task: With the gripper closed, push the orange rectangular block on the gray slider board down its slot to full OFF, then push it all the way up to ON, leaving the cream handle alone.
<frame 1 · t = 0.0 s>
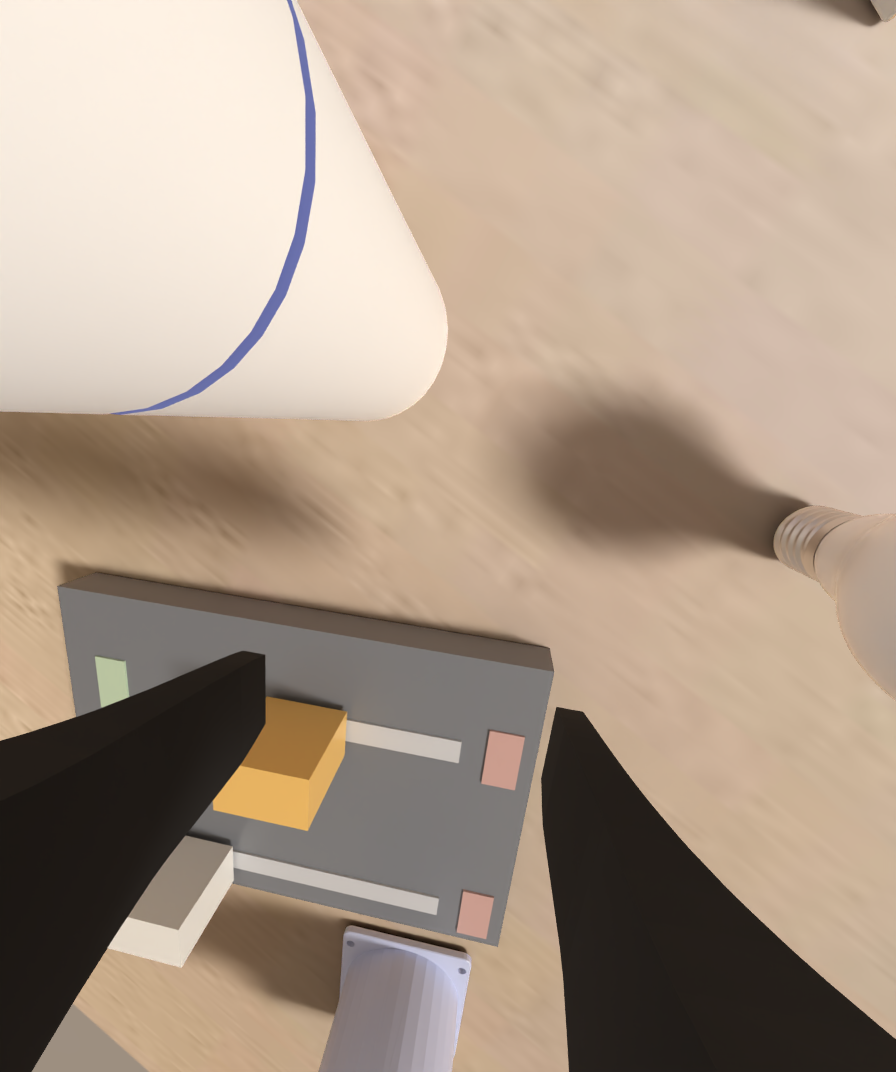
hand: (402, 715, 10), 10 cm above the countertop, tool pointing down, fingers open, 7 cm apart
cream handle: (172, 893, 22), point 4 cm above the countertop, slide at 12.0 cm
cylindrical container: (364, 333, 18), on the countertop
lightbulb: (796, 533, 18), on the countertop
orange rectangular block: (285, 757, 19), point 4 cm above the countertop, slide at 6.0 cm
gray slider board: (306, 747, 24), on the countertop
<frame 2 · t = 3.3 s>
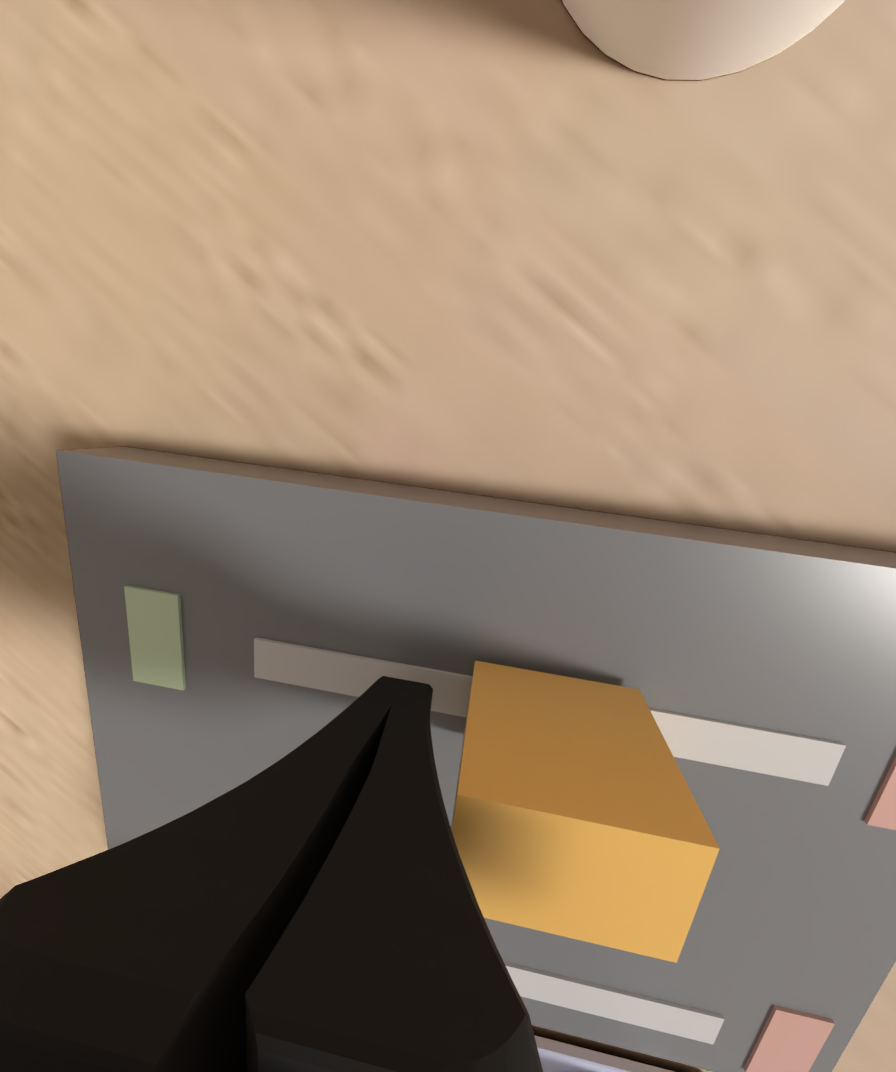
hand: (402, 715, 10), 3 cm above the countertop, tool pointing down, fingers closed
orange rectangular block: (555, 781, 9), point 4 cm above the countertop, slide at 5.5 cm, touching gripper
gray slider board: (475, 751, 14), on the countertop
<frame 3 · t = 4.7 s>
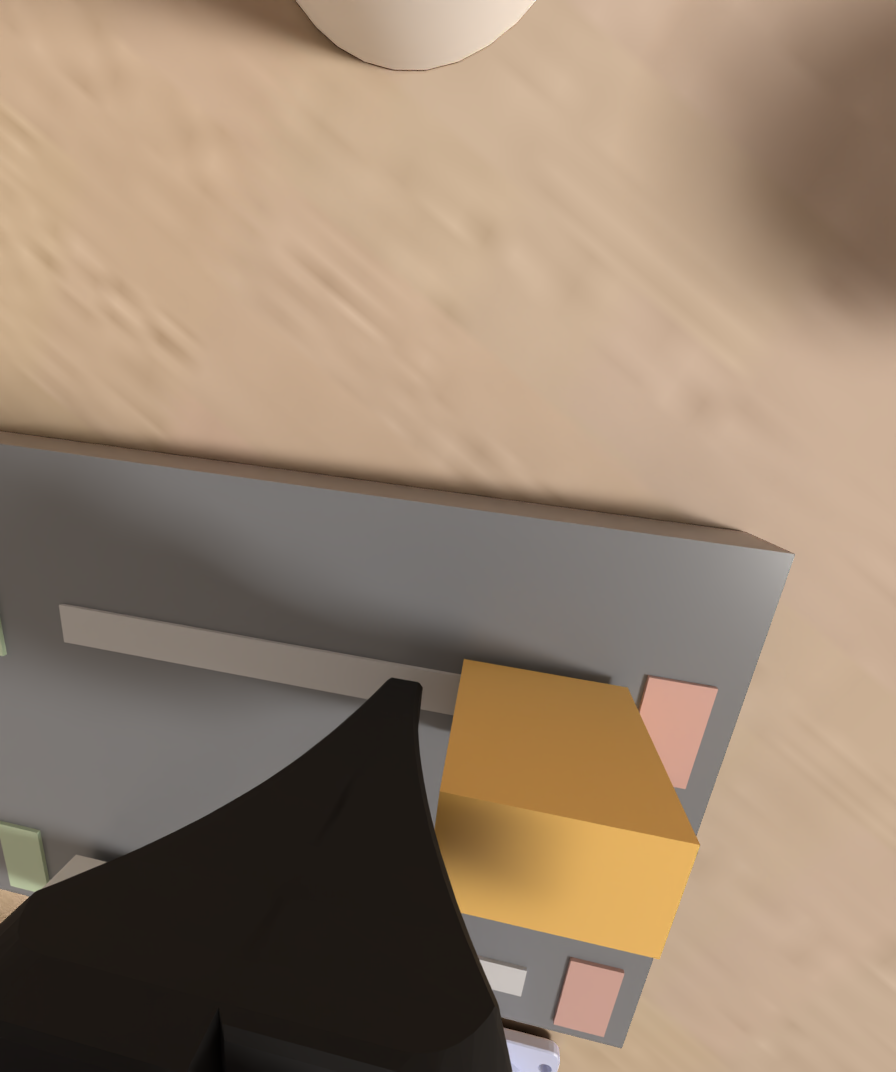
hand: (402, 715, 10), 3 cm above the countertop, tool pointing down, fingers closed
cream handle: (76, 965, 13), point 4 cm above the countertop, slide at 12.0 cm
orange rectangular block: (541, 778, 9), point 4 cm above the countertop, slide at -0.2 cm, touching gripper
gray slider board: (304, 718, 15), on the countertop
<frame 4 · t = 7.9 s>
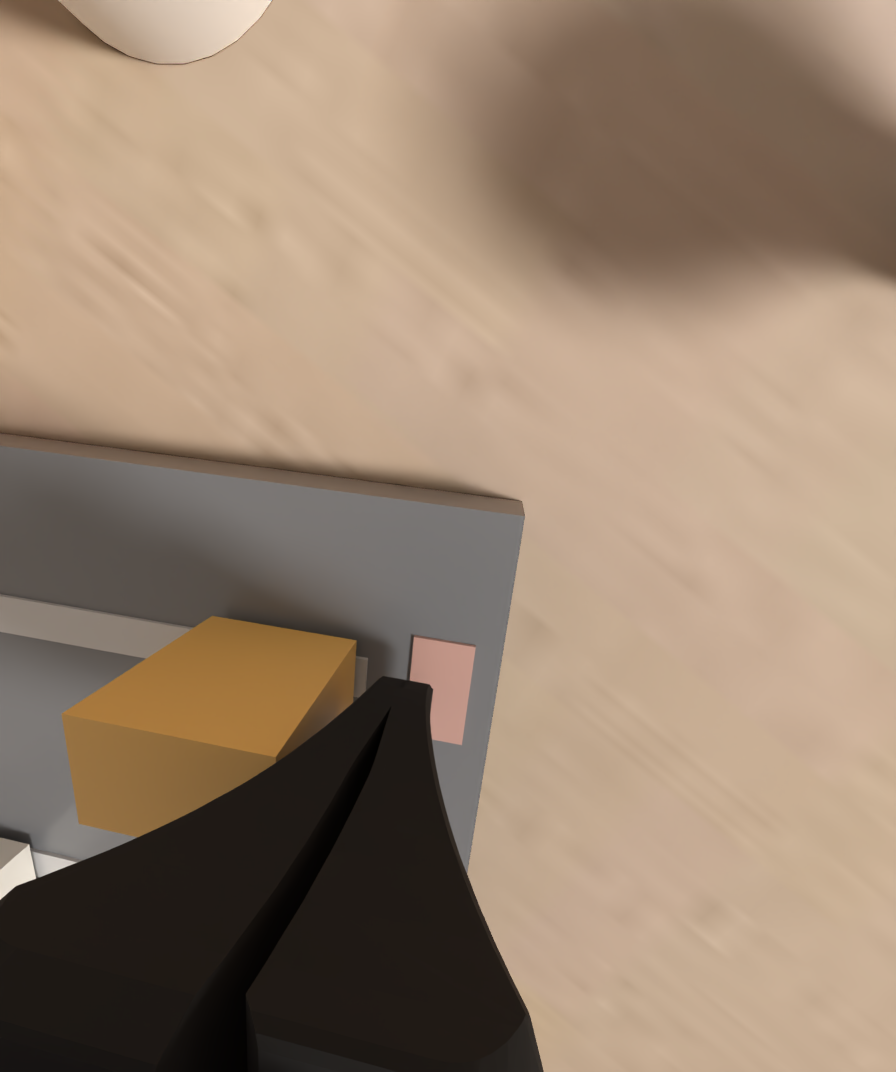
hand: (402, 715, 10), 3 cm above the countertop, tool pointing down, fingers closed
orange rectangular block: (237, 718, 10), point 4 cm above the countertop, slide at 0.8 cm, touching gripper
gray slider board: (149, 689, 15), on the countertop
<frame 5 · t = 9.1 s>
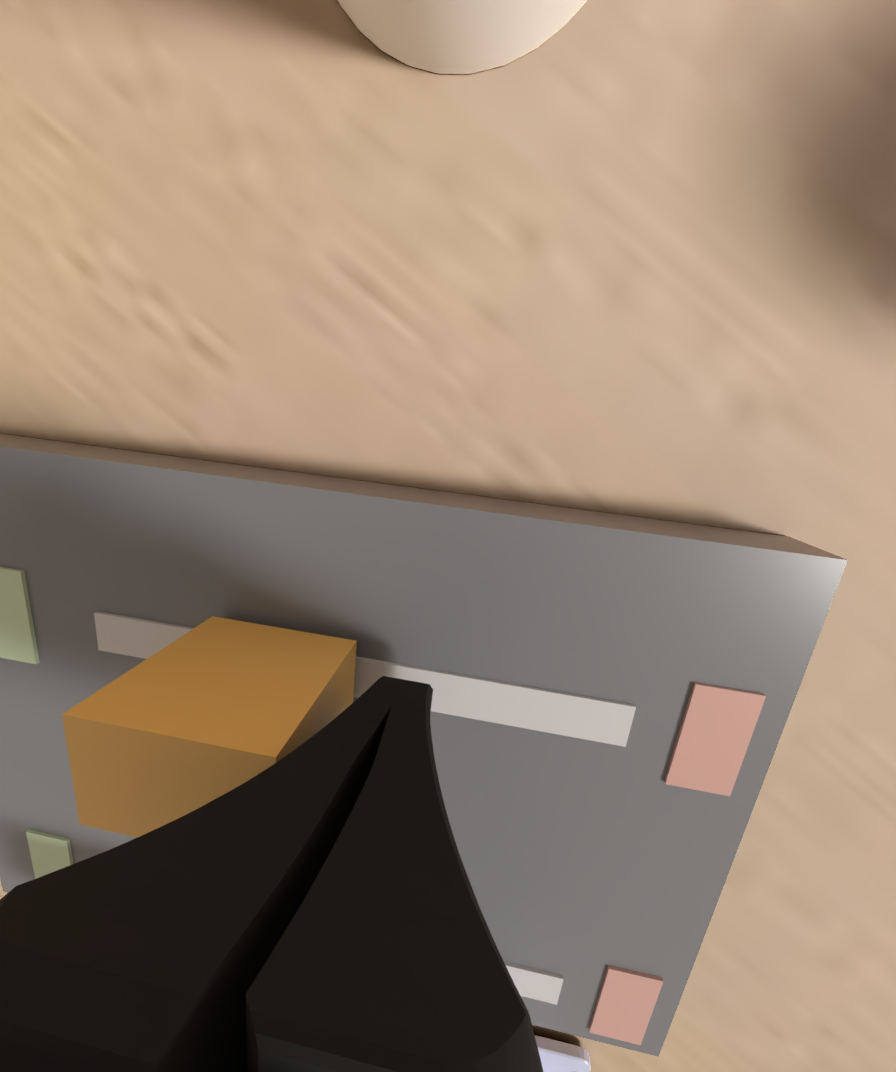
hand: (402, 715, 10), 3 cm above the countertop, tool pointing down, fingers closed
orange rectangular block: (238, 719, 10), point 4 cm above the countertop, slide at 7.7 cm, touching gripper
gray slider board: (335, 725, 15), on the countertop
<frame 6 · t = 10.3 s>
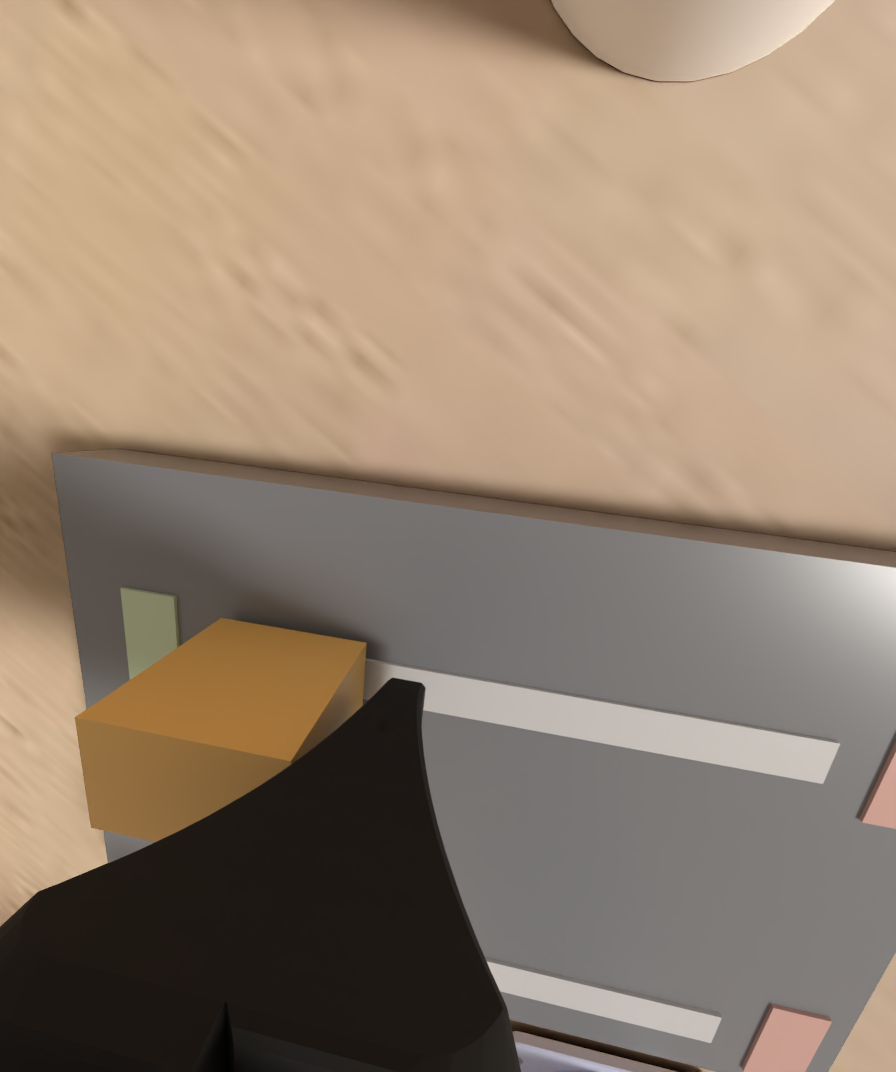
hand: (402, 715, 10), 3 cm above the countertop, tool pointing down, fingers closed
orange rectangular block: (249, 721, 9), point 4 cm above the countertop, slide at 12.2 cm, touching gripper
gray slider board: (472, 751, 14), on the countertop
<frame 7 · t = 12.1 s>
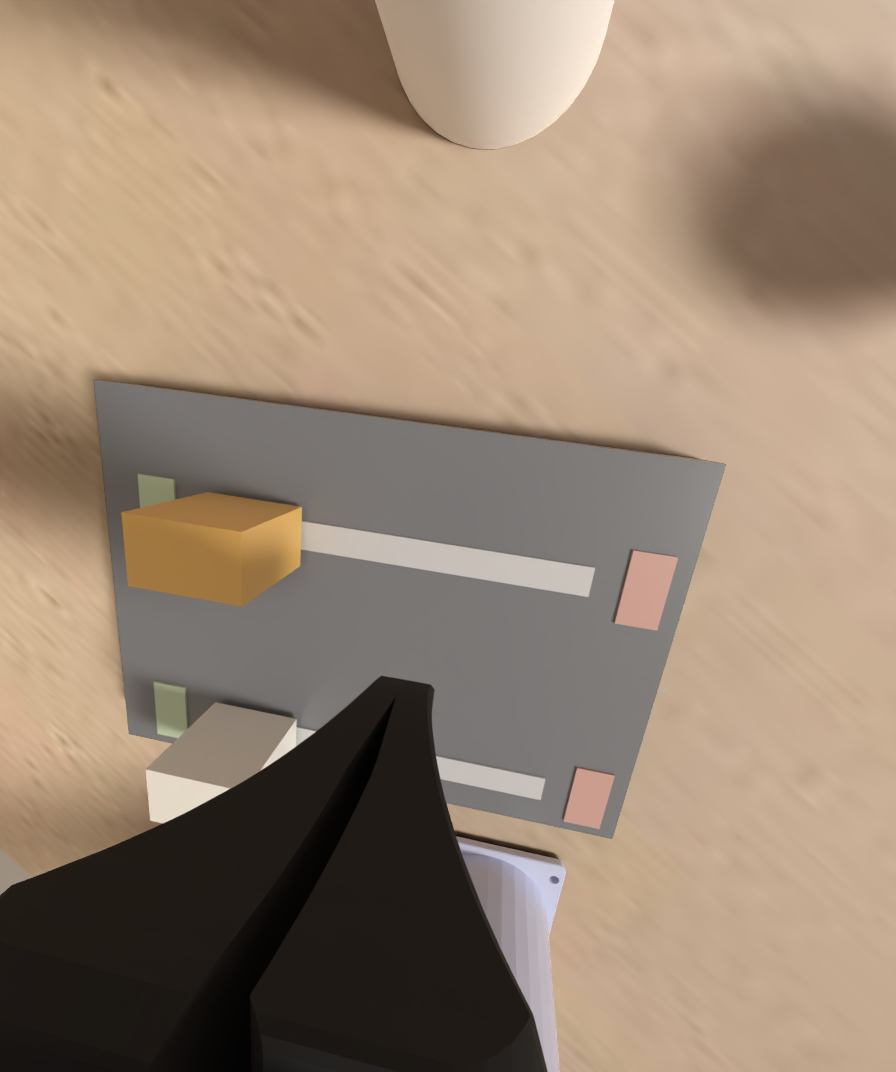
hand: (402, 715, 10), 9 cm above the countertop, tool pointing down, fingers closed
cream handle: (229, 765, 18), point 4 cm above the countertop, slide at 12.0 cm
cylindrical container: (497, 23, 14), on the countertop
orange rectangular block: (222, 542, 15), point 4 cm above the countertop, slide at 12.1 cm
gray slider board: (383, 605, 20), on the countertop
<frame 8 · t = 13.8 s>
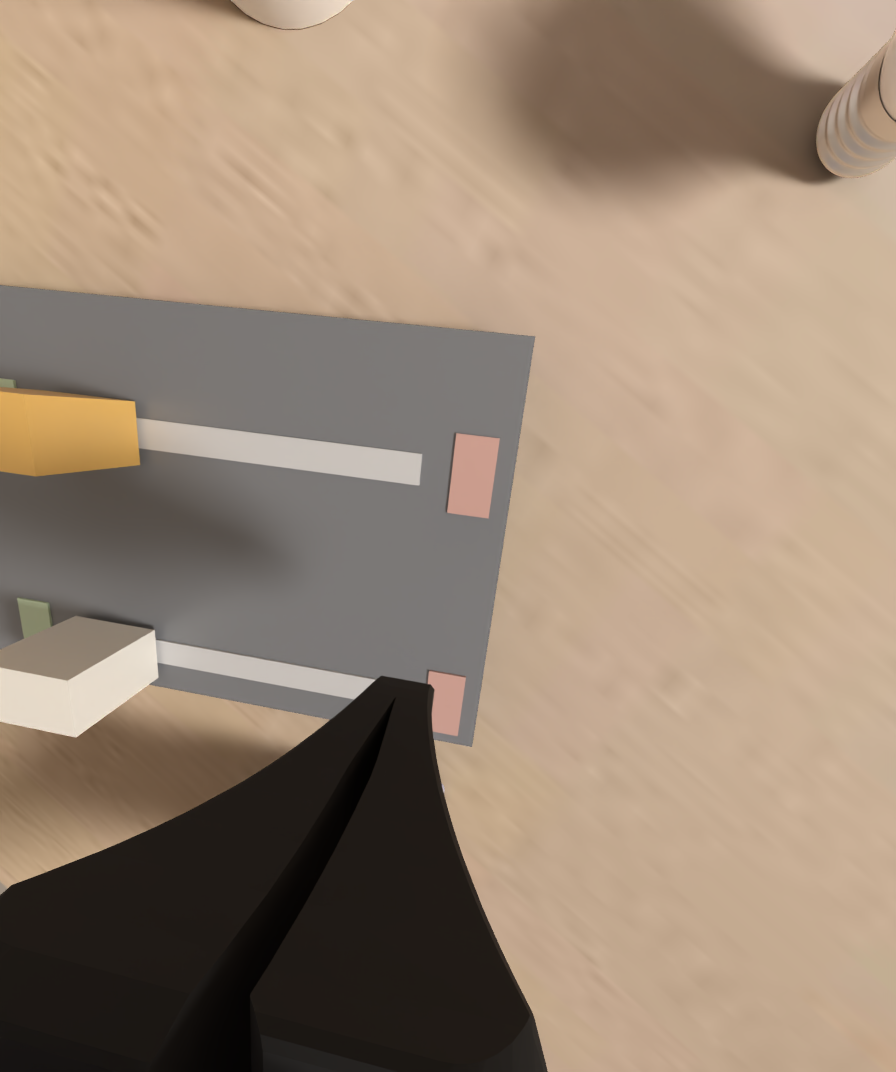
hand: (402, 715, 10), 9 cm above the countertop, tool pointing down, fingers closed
cream handle: (75, 670, 18), point 4 cm above the countertop, slide at 12.0 cm
lightbulb: (843, 144, 14), on the countertop
orange rectangular block: (40, 428, 15), point 4 cm above the countertop, slide at 12.1 cm
gray slider board: (244, 516, 20), on the countertop
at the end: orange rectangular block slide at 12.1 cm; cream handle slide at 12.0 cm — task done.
